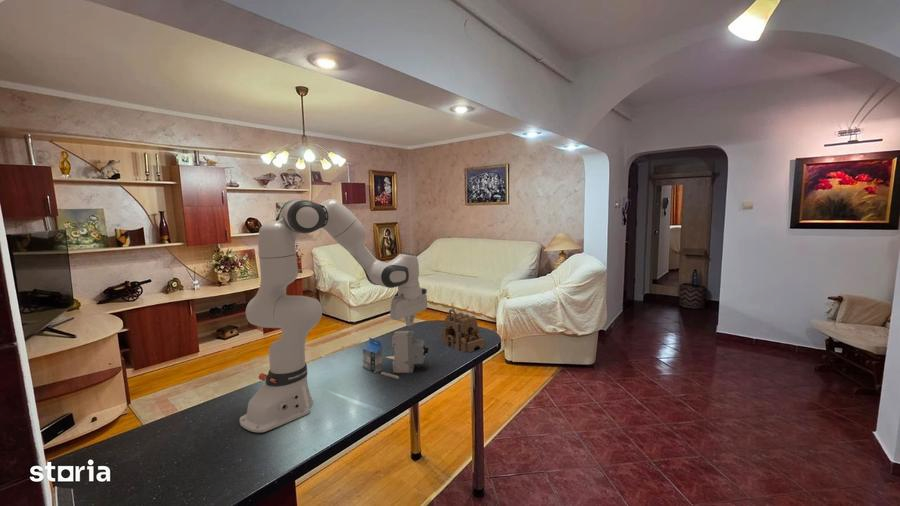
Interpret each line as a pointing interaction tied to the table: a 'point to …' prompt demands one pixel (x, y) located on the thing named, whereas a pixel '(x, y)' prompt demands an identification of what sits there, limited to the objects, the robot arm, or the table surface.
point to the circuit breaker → (407, 351)
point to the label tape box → (373, 356)
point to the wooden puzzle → (461, 332)
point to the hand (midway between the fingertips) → (409, 325)
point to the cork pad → (391, 357)
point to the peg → (390, 375)
